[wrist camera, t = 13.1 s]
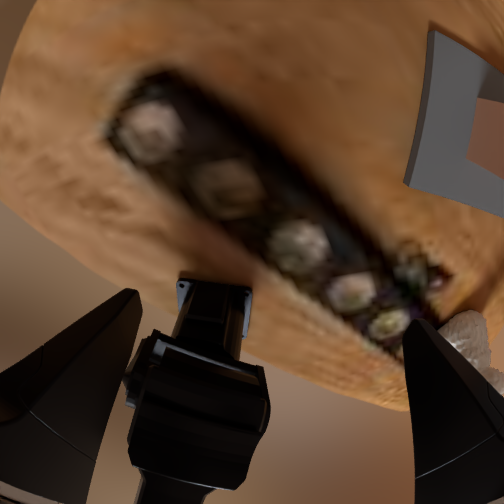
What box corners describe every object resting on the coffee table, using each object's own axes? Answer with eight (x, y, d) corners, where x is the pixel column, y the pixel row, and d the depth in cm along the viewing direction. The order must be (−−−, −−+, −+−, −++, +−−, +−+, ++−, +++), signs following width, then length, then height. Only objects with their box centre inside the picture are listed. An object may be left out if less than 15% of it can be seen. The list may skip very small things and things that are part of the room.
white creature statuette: (409, 352, 27) (434, 438, 17) (446, 299, 23) (492, 393, 13) (457, 350, 27) (484, 421, 17) (492, 304, 23) (533, 378, 13)
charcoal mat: (508, 217, 17) (514, 222, 16) (403, 182, 17) (409, 187, 16) (534, 106, 10) (541, 108, 10) (428, 32, 10) (434, 30, 10)
